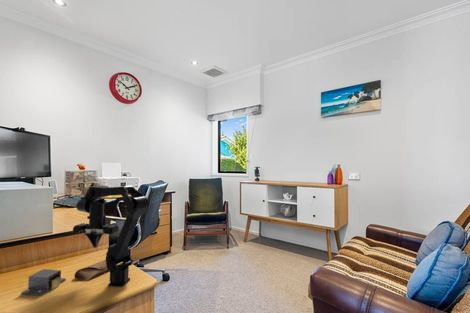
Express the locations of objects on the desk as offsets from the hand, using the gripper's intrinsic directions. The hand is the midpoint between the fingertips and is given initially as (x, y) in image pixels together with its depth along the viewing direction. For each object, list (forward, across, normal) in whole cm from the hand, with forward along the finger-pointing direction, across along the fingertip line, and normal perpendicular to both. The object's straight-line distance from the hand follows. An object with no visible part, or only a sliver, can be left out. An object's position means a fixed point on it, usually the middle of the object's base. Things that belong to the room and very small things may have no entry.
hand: (95, 247), depth 109 cm
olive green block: (+13, +11, +12) cm, 21 cm away
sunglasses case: (+13, 0, -3) cm, 14 cm away
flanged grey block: (+12, +13, +12) cm, 22 cm away
